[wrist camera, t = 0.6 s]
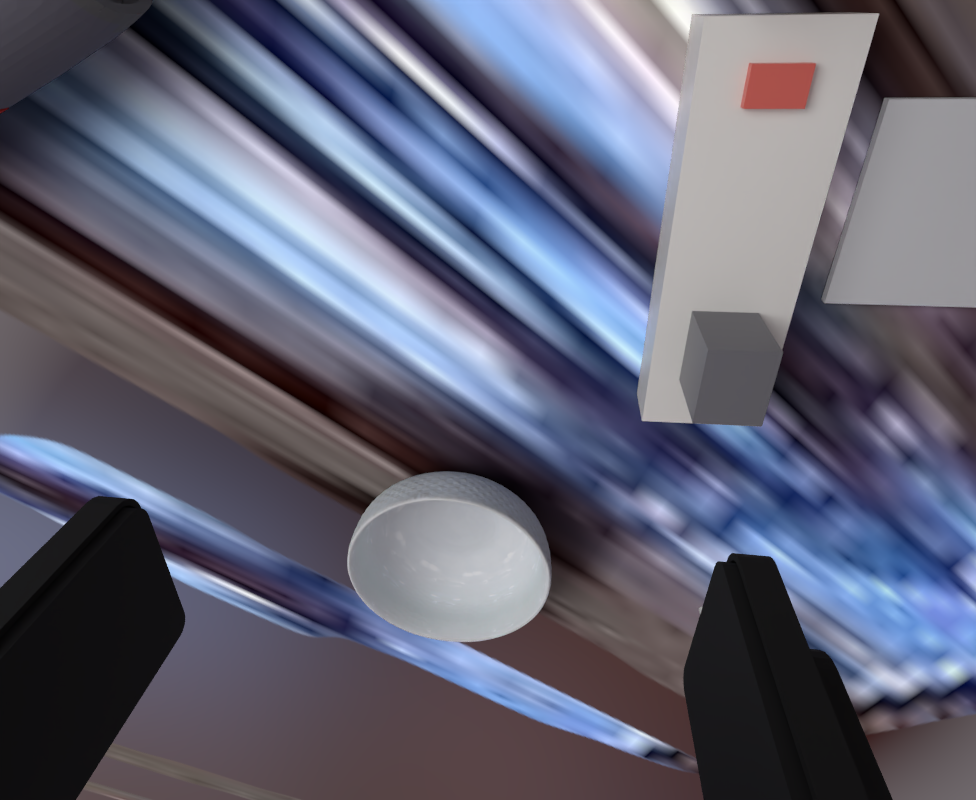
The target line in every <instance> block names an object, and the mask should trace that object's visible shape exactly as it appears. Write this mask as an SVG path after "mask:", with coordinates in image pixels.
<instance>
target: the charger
mask: <svg viewBox="0 0 976 800" xmlns="http://www.w3.org/2000/svg"><path fill="white" fill-rule="evenodd" d="M782 355H783V351H782V349H781V348H780V346H779V344H778V343H777V341H776V340H775V338H774V336H773V335H772V333H771V332H770V330H769V328H768V327H767V325H766V324H765V322H764V321H763V319H762V317H761V316H760V314H759V313H744V312H711V311H692V314H691V319H690V325H689V330H688V335H687V341H686V346H685V351H684V357H683V362H682V367H681V373H680V378H679V381H680V384H681V387H682V390H683V394H684V397H685V400H686V403H687V407H688V410H689V413H690V416H691V420H692V423H701V424H722V425H743V426H762V424H763V421H764V417H765V414H766V410H767V407H768V404H769V400H770V397H771V393H772V390H773V386H774V383H775V379H776V376H777V373H778V369H779V366H780V362H781V359H782Z"/></svg>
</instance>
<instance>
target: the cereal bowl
mask: <svg viewBox="0 0 976 800" xmlns="http://www.w3.org/2000/svg"><path fill="white" fill-rule="evenodd" d="M347 560H348V562H347V563H348V572H349V576H350V579H351V582H352V584H353V586H354V588H355V590H356V592H357V593H358V595H359V596H360V598H361V599H362V600H363V601H364V603H365V604H366V605H367V606H368V607H369V608H370V609H371V610H372V611H374V612H375V613H376V614H377V615H379V616H380V617H382V618H383V619H384V620H386V621H388V622H389V623H391V624H393V625H395V626H397V627H398V628H400V629H403V630H405V631H408V632H410V633H413V634H416V635H419V636H423V637H427V638H431V639H436V640H443V641H455V642H474V641H483V640H488V639H493V638H497V637H500V636H504V635H506V634H509V633H511V632H513V631H515V630H517V629H519V628H521V627H523V626H524V625H526V624H527V623H528V622H530V621H531V620H532V619H533V618H534V617H535V616H536V615H537V614H538V613H539V611H540V610H541V609H542V607H543V605H544V604H545V602H546V599H547V597H548V595H549V591H550V587H551V577H552V576H551V569H552V567H551V558H550V550H549V546H548V542H547V539H546V535H545V533H544V531H543V528H542V526H541V525H540V522H539V520H538V519H537V517H536V515H535V514H534V513H533V512H532V511H531V509H530V508H529V507H528V506H527V505H526V503H525V502H524V501H523V500H521V499H520V498H519V497H518V496H517V495H515V494H514V493H513V492H511V491H510V490H508V489H507V488H505V487H504V486H503V485H499V484H498V483H497V482H494V481H492V480H489V479H487V478H484V477H481V476H477V475H474V474H468V473H462V472H449V471H445V472H443V471H441V472H432V473H424V474H421V475H416V476H413V477H410V478H407V479H405V480H402V481H400V482H398V483H397V484H394V485H392V486H391V487H390V488H388V489H386V490H385V491H383V492H382V493H381V494H380V495H379V496H377V498H376V499H375V500H374V501H373V502H372V503H371V504H370V506H369V507H368V508H367V509H366V511H365V512H364V514H363V515H362V517H361V519H360V521H359V522H358V525H357V527H356V529H355V531H354V534H353V537H352V539H351V543H350V545H349V551H348V559H347Z"/></svg>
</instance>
